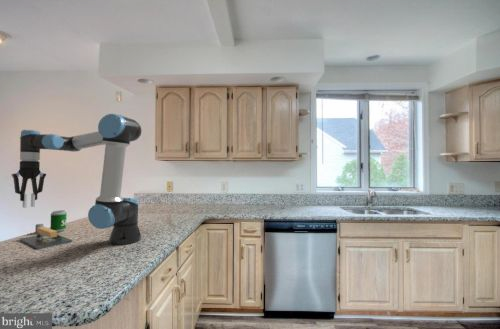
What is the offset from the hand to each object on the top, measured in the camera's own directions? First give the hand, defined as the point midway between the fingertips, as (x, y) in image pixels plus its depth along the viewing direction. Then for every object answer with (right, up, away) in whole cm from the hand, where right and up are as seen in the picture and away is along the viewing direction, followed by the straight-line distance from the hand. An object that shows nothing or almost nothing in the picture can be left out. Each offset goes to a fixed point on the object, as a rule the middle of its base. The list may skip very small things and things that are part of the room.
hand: (28, 206), depth 123 cm
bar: (+5, -15, +4) cm, 17 cm away
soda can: (-3, -19, +23) cm, 30 cm away
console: (+6, -19, +4) cm, 20 cm away
